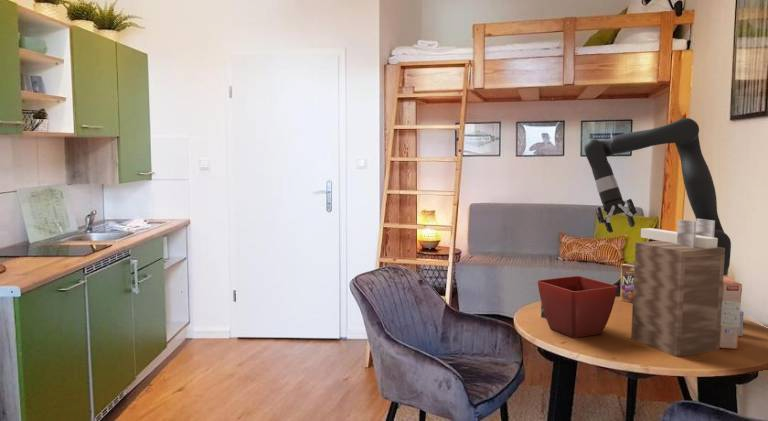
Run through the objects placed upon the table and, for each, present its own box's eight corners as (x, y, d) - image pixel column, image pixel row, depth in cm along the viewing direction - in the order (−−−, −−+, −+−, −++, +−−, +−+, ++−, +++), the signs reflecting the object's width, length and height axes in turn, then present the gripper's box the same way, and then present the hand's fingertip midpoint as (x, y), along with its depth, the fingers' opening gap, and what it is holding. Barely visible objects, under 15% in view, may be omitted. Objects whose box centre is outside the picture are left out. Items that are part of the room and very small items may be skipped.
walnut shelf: (631, 338, 191) (636, 218, 187) (671, 333, 197) (677, 216, 193) (676, 356, 174) (683, 224, 170) (718, 349, 180) (726, 222, 176)
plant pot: (534, 326, 204) (536, 279, 202) (577, 320, 212) (579, 275, 210) (572, 342, 187) (574, 291, 185) (617, 335, 194) (619, 286, 192)
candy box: (619, 300, 241) (620, 264, 239) (625, 299, 243) (626, 263, 242) (639, 305, 233) (641, 267, 232) (645, 303, 236) (647, 266, 234)
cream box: (640, 237, 200) (641, 228, 200) (650, 236, 202) (651, 228, 201) (706, 248, 176) (707, 238, 176) (717, 247, 177) (717, 238, 177)
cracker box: (739, 349, 180) (743, 283, 178) (718, 348, 181) (722, 282, 179) (721, 336, 194) (724, 274, 192) (701, 335, 195) (705, 273, 193)
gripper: (594, 192, 219) (608, 233, 216) (629, 182, 219) (644, 223, 217) (587, 195, 226) (600, 235, 224) (621, 186, 227) (635, 226, 224)
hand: (621, 229), depth 220 cm, fingers open, 8 cm apart
